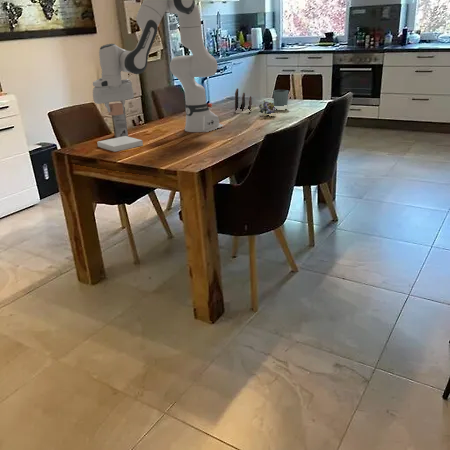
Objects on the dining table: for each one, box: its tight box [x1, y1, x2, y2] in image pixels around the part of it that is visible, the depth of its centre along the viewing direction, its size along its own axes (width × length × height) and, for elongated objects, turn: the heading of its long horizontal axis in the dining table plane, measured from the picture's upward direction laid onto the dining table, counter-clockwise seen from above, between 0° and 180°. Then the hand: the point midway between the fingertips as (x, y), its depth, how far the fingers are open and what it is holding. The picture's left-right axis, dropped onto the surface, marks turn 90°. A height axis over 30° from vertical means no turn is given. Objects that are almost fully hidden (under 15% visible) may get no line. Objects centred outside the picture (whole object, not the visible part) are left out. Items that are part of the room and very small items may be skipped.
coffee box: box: [111, 106, 129, 138], centre depth 251 cm, size 9×6×16 cm
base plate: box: [96, 135, 144, 152], centre depth 233 cm, size 16×16×2 cm
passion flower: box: [258, 99, 276, 115], centre depth 289 cm, size 11×11×12 cm
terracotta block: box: [108, 102, 124, 116], centre depth 227 cm, size 5×5×5 cm
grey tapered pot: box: [272, 89, 290, 106], centre depth 309 cm, size 10×10×12 cm
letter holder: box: [234, 88, 253, 112], centre depth 310 cm, size 10×20×14 cm, turn 174°
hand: (115, 110), depth 227 cm, fingers closed on terracotta block, 5 cm apart
